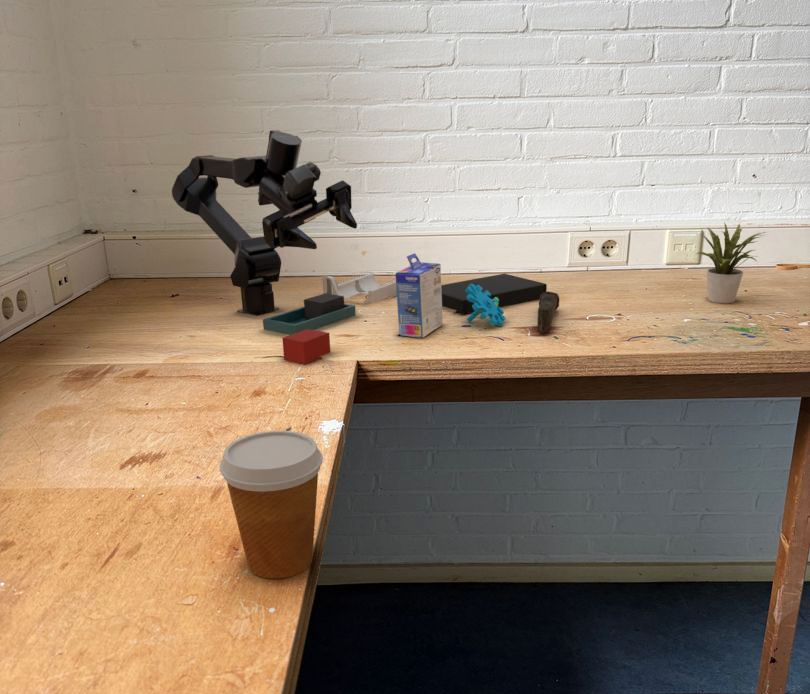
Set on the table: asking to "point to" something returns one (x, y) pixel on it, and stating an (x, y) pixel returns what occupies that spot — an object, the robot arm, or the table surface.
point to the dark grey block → (322, 305)
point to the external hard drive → (492, 291)
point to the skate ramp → (360, 288)
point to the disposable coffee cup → (274, 499)
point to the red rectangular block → (306, 346)
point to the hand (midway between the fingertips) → (336, 236)
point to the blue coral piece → (484, 305)
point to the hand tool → (547, 310)
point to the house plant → (726, 266)
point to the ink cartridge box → (419, 298)
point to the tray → (305, 320)
